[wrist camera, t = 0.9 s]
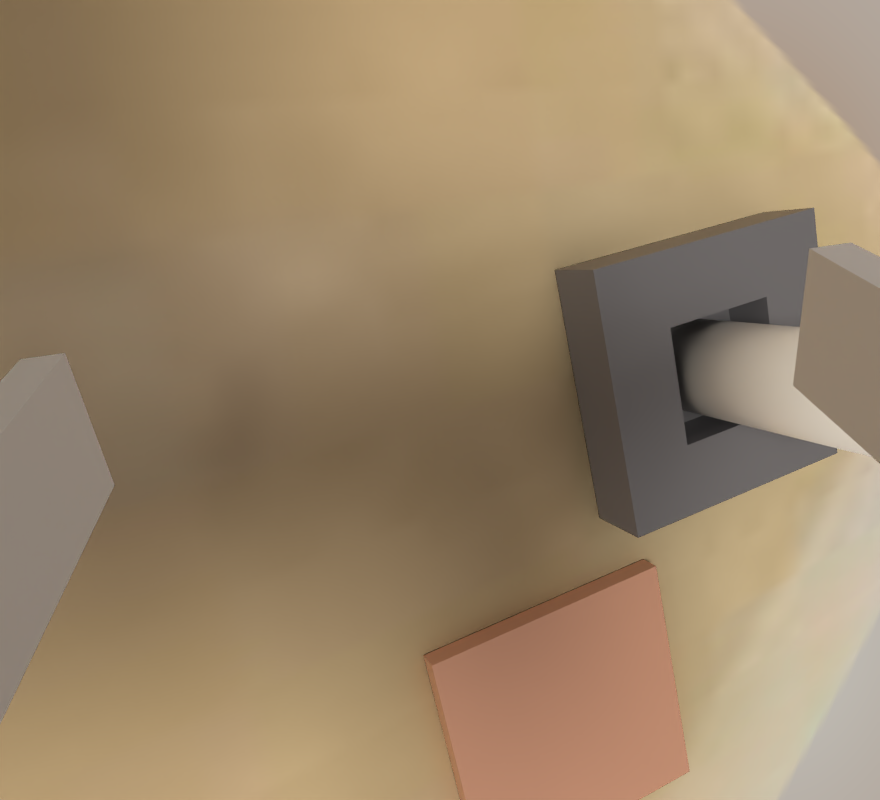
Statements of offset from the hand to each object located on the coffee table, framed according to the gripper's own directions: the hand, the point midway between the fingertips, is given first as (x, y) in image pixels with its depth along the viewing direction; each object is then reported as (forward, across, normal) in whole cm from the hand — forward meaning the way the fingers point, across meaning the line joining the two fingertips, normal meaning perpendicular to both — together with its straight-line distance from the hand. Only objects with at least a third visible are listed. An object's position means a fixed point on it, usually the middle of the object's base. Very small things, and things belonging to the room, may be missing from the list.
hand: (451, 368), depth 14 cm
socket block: (+20, +12, -11) cm, 26 cm away
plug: (+20, +13, -11) cm, 26 cm away
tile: (+13, +4, -26) cm, 29 cm away
